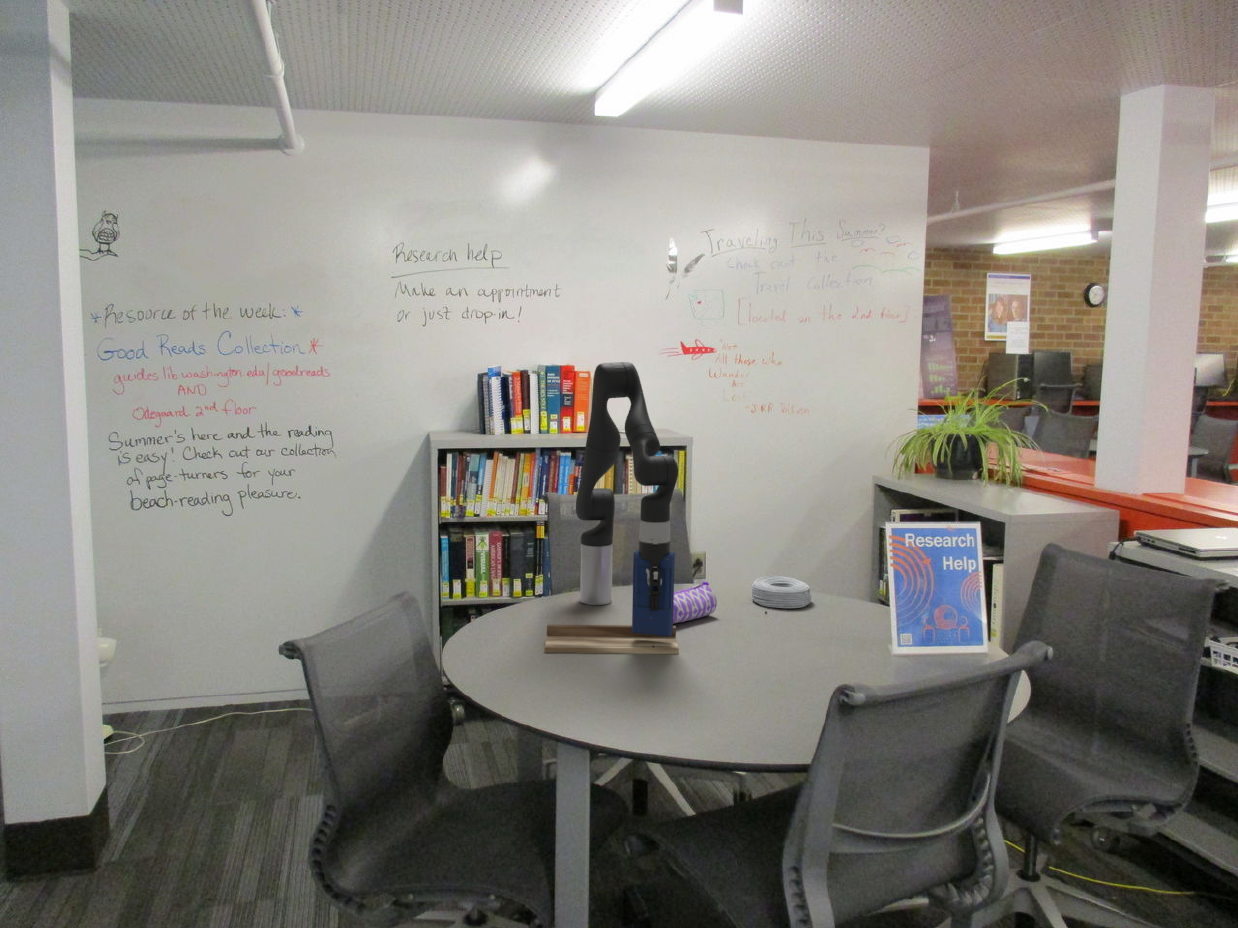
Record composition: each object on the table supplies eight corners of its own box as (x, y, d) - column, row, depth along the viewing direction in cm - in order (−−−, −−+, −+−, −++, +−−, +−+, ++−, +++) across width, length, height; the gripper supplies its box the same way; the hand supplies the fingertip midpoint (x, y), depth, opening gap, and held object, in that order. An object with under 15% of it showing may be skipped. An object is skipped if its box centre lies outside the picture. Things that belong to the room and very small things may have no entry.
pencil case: (694, 609, 248) (695, 577, 247) (720, 616, 241) (721, 583, 240) (640, 625, 232) (641, 590, 231) (666, 633, 226) (667, 597, 225)
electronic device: (673, 631, 214) (675, 551, 212) (669, 637, 209) (671, 556, 207) (636, 627, 217) (637, 548, 214) (631, 633, 212) (632, 553, 209)
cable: (767, 591, 270) (768, 572, 269) (821, 601, 260) (822, 581, 259) (740, 603, 256) (741, 583, 255) (795, 614, 246) (796, 593, 245)
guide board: (547, 640, 218) (547, 624, 218) (675, 641, 219) (675, 625, 218) (544, 653, 208) (544, 636, 208) (678, 654, 209) (679, 638, 208)
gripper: (637, 532, 217) (636, 598, 219) (640, 544, 203) (638, 615, 205) (667, 532, 217) (666, 598, 219) (672, 545, 203) (670, 615, 205)
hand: (653, 606), depth 212 cm, fingers closed on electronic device, 6 cm apart
